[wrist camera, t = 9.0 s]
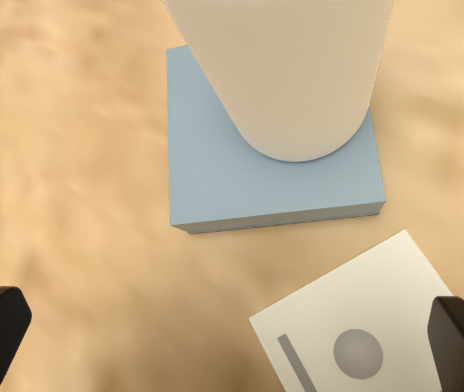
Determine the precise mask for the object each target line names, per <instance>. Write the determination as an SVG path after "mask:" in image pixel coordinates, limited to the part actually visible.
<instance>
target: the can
mask: <svg viewBox="0 0 464 392" xmlns="http://www.w3.org/2000/svg"><path fill="white" fill-rule="evenodd" d="M161 1H162V2H163V4H164V6H165V8H166V9H167V11H168V13H169V14H170V16H171V18H172V20H173V21H174V23H175V25H176V26H177V28H178V30H179V32H180V33H181V35H182V37H183V38H184V40H185V42H186V43H187V45H188V47H189V49H190V50H191V52H192V54H193V55H194V57H195V59H196V60H197V62H198V64H199V66H200V67H201V69H202V71H203V72H204V74H205V76H206V77H207V79H208V81H209V83H210V84H211V86H212V88H213V89H214V91H215V93H216V94H217V96H218V98H219V99H220V101H221V103H222V104H223V106H224V108H225V109H226V111H227V113H228V114H229V116H230V118H231V119H232V121H233V123H234V124H235V126H236V128H237V129H238V131H239V132H240V134H241V135H242V137H243V138H244V139H245V140H246V141H247V143H248V144H249V145H251V146H252V147H253V148H254V149H255V150H257V151H258V152H260V153H262V154H264V155H266V156H268V157H270V158H273V159H277V160H281V161H288V162H301V161H309V160H313V159H317V158H320V157H323V156H325V155H328V154H330V153H332V152H334V151H335V150H337V149H338V148H340V147H341V146H343V145H344V144H345V143H346V142H347V141H348V140H350V139H351V137H352V136H353V135H354V134H355V133H356V132H357V130H358V129H359V127H360V126H361V124H362V122H363V120H364V118H365V116H366V113H367V110H368V107H369V104H370V100H371V96H372V92H373V88H374V84H375V79H376V75H377V71H378V67H379V63H380V58H381V54H382V50H383V46H384V41H385V37H386V33H387V28H388V24H389V20H390V15H391V11H392V7H393V3H394V0H161Z"/></svg>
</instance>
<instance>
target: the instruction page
mask: <svg viewBox="0 0 464 392" xmlns="http://www.w3.org/2000/svg"><path fill="white" fill-rule="evenodd" d="M437 296H453V295H452V293H451V292H450V290H449V289H448V288H447V286H446V285H445V284H444V282H443V281H442V279H441V278H440V277H439V275H438V274H437V273H436V271H435V270H434V268H433V267H432V266H431V264H430V263H429V262H428V260H427V259H426V257H425V256H424V255H423V253H422V252H421V251H420V249H419V248H418V246H417V245H416V244H415V242H414V241H413V240H412V238H411V237H410V235H409V234H408V233H407V231H406V230H405V229H404V230H403V231H401V232H399V233H397V234H396V235H394V236H392V237H390V238H389V239H387V240H385V241H383V242H381V243H380V244H378V245H376V246H374V247H373V248H371V249H369V250H367V251H366V252H364V253H362V254H360V255H359V256H357V257H355V258H353V259H352V260H350V261H348V262H346V263H345V264H343V265H341V266H339V267H337V268H336V269H334V270H332V271H330V272H329V273H327V274H325V275H323V276H322V277H320V278H318V279H316V280H315V281H313V282H311V283H309V284H308V285H306V286H304V287H302V288H300V289H299V290H297V291H295V292H293V293H292V294H290V295H288V296H286V297H285V298H283V299H281V300H279V301H278V302H276V303H274V304H272V305H271V306H269V307H267V308H265V309H264V310H262V311H260V312H258V313H256V314H255V315H253V316H251V317H249V318H248V319H249V321H250V323H251V325H252V327H253V329H254V331H255V333H256V335H257V337H258V339H259V341H260V342H261V344H262V346H263V348H264V350H265V352H266V354H267V356H268V358H269V360H270V362H271V364H272V366H273V368H274V370H275V372H276V374H277V376H278V378H279V379H280V381H281V383H282V385H283V387H284V389H285V391H286V392H442V388H441V384H440V381H439V377H438V373H437V369H436V366H435V362H434V358H433V354H432V351H431V347H430V343H429V339H428V334H427V326H428V321H429V316H430V312H431V307H432V302H433V300H434V298H435V297H437Z"/></svg>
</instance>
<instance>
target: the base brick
mask: <svg viewBox="0 0 464 392" xmlns="http://www.w3.org/2000/svg"><path fill="white" fill-rule="evenodd" d="M166 55H167V105H168V155H169V206H170V226H173V227H176V228H179V229H181V230H184V231H187V232H188V233H189V234H198V233H207V232H217V231H226V230H236V229H246V228H255V227H265V226H274V225H284V224H294V223H303V222H313V221H322V220H332V219H342V218H351V217H361V216H370V215H378V214H379V210H380V209H381V207H382V206H383V205H384V203H385V202H386V199H385V193H384V187H383V182H382V176H381V170H380V164H379V159H378V153H377V147H376V142H375V136H374V130H373V125H372V119H371V113H370V107H368V110H367V113H366V116H365V118H364V120H363V122H362V124H361V126H360V127H359V129H358V130H357V132H356V133H355V134H354V135H353V136H352V137H351V139H350V140H348V141H347V142H346V143H345V144H344V145H343V146H341V147H340V148H338V149H337V150H335V151H334V152H332V153H330V154H328V155H325V156H323V157H320V158H317V159H313V160H309V161H301V162H288V161H281V160H277V159H273V158H270V157H268V156H266V155H264V154H262V153H260V152H258V151H257V150H255V149H254V148H253V147H252V146H251V145H249V144H248V143H247V141H246V140H245V139H244V138H243V137H242V135H241V134H240V132H239V131H238V129H237V128H236V126H235V124H234V123H233V121H232V119H231V118H230V116H229V114H228V113H227V111H226V109H225V108H224V106H223V104H222V103H221V101H220V99H219V98H218V96H217V94H216V93H215V91H214V89H213V88H212V86H211V84H210V83H209V81H208V79H207V77H206V76H205V74H204V72H203V71H202V69H201V67H200V66H199V64H198V62H197V60H196V59H195V57H194V55H193V54H192V52H191V50H190V49H189V47H188V45H185V46H180V47H176V48H172V49H168V50H166Z"/></svg>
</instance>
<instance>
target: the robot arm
mask: <svg viewBox="0 0 464 392" xmlns="http://www.w3.org/2000/svg"><path fill="white" fill-rule="evenodd" d="M31 318H32V313H31V310H30V308H29V306H28V304H27V302H26V300H25V297H24V295H23V293H22V291H21V290H20V289H19V288H18V287H14V286H1V287H0V385H1V383H2V381H3V379H4V377H5V375H6V373H7V371H8V369H9V367H10V365H11V362H12V360H13V358H14V356H15V354H16V352H17V350H18V348H19V346H20V344H21V341H22V339H23V337H24V335H25V333H26V331H27V329H28V327H29V325H30V322H31ZM427 334H428V339H429V343H430V347H431V351H432V354H433V358H434V362H435V366H436V369H437V373H438V377H439V381H440V384H441V388H442V392H464V300H463V299H462V298H460V297H457V296H437V297H435V298H434V300H433V302H432V307H431V312H430V316H429V321H428V326H427Z"/></svg>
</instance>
